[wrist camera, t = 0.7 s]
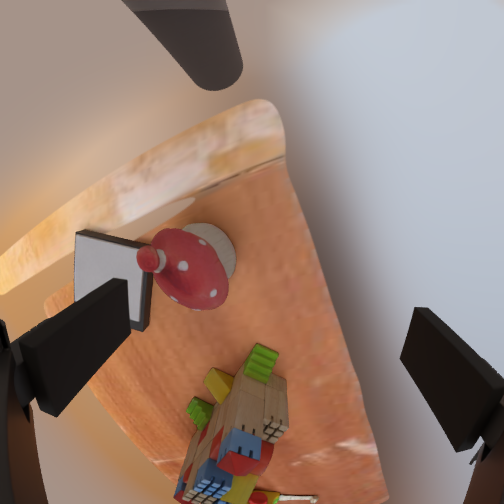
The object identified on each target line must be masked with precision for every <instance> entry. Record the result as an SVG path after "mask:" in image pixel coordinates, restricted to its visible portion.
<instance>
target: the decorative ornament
mask: <svg viewBox="0 0 504 504" xmlns="http://www.w3.org/2000/svg"><path fill="white" fill-rule="evenodd" d="M136 259H137V263H138V265H139V267H140V269H142V270H143V271H145V272H152V273H153V275H154V278H155V280H156V282H157V284H158V285H159V286H160V288H161V289H162V290H163V292H164V293H165V294H166V295H168V296H169V297H170V298H171V299H173V300H174V301H176V302H177V303H179V304H181V305H183V306H186V307H188V308H191V309H193V310H198V311H202V310H212V309H215V308H217V307H219V306H220V305H222V304H223V303H224V301H225V300H226V298H227V295H228V288H229V283H228V279H229V278H230V277H231V275H232V274H233V272H234V270H235V266H236V253H235V250H234V247H233V245H232V243H231V241H230V240H229V238H228V237H227V235H226V234H225V233H224V232H223V231H222V230H220V229H219V228H217V227H216V226H214V225H211V224H207V223H194V224H189V225H187V226H185V227H184V228H183V229H182V230H181V229H176V228H174V229H170V228H167V229H163V230H161V231H160V232H158V233H157V234H156V235H155V237H154V238H153V240H152V242H151V245H150V246H149V245H147V246H143V247H141V248H140V249H139V250H138V251H137V255H136Z"/></svg>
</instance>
